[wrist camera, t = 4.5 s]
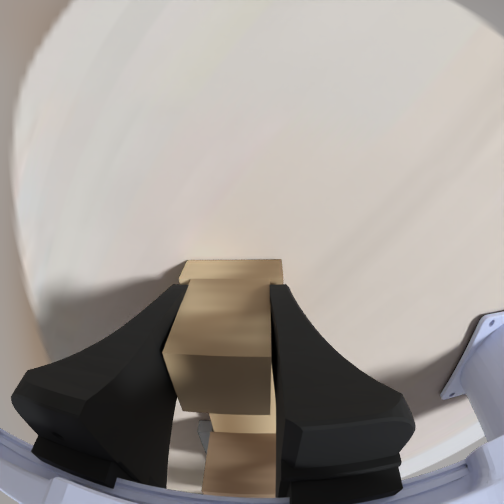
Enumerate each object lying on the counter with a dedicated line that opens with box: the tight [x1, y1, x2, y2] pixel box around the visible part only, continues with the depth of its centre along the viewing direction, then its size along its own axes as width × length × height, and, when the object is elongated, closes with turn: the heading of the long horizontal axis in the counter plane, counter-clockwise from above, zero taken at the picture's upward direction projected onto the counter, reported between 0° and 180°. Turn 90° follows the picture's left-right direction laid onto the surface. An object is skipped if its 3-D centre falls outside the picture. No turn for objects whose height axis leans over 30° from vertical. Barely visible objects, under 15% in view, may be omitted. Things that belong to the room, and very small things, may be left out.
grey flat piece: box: [197, 420, 214, 454], centre depth 20 cm, size 13×13×2 cm
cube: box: [202, 431, 276, 498], centre depth 15 cm, size 4×4×4 cm
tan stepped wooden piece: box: [162, 259, 283, 433], centre depth 14 cm, size 4×16×6 cm, turn 2°
